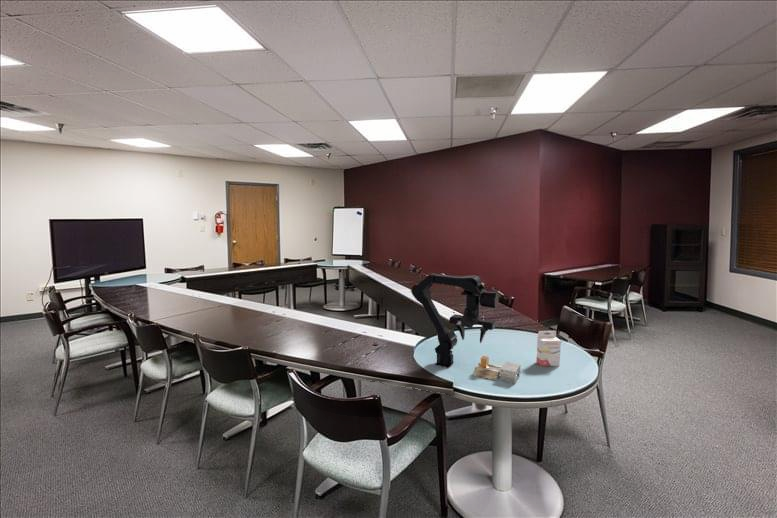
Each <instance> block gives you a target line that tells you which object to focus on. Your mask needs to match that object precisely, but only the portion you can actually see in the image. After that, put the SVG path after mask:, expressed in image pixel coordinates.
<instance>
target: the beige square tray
mask: <svg viewBox="0 0 777 518" xmlns="http://www.w3.org/2000/svg"><path fill="white" fill-rule="evenodd" d="M489 366H491V367H496V368H502V366H501V365H495V364H492V363H489ZM473 375H474V377H477V376H479V377H478V378H482V377H483V379H486V378H488V379H487V380H491V379H492V380H491V381H495V380H496V381H497V380H498V379H499V378H500V376H499V374H498V370H493V369H488V368H483V367H481V361H479V362H478V366H477V365H475V366H474V372H473V373H472V376H473Z"/></svg>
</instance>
